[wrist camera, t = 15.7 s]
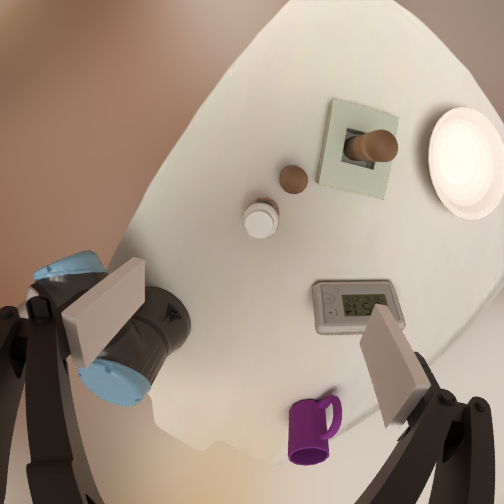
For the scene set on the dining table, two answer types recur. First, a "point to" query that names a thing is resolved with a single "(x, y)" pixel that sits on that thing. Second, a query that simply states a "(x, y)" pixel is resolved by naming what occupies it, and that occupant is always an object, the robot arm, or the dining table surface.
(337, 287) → the digital clock
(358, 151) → the long dowel
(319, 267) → the dining table surface
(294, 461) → the mug
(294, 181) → the short dowel
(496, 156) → the bowl
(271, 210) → the pill bottle
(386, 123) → the hole board
